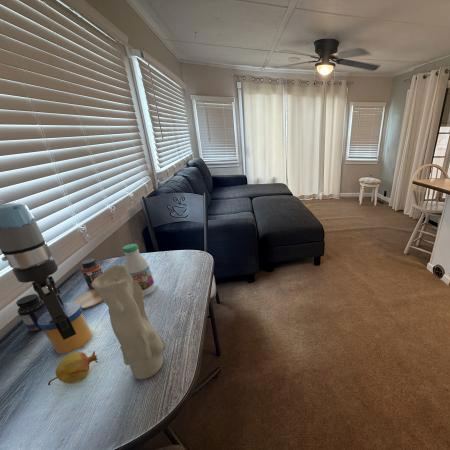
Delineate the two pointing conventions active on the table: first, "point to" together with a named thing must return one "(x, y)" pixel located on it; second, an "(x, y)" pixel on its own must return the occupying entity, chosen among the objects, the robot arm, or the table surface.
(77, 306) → the lid
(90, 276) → the supplement bottle
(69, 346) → the jar
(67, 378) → the fruit
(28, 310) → the pill bottle
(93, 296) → the coaster
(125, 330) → the vase
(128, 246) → the milk bottle
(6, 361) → the table surface
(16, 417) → the table surface
